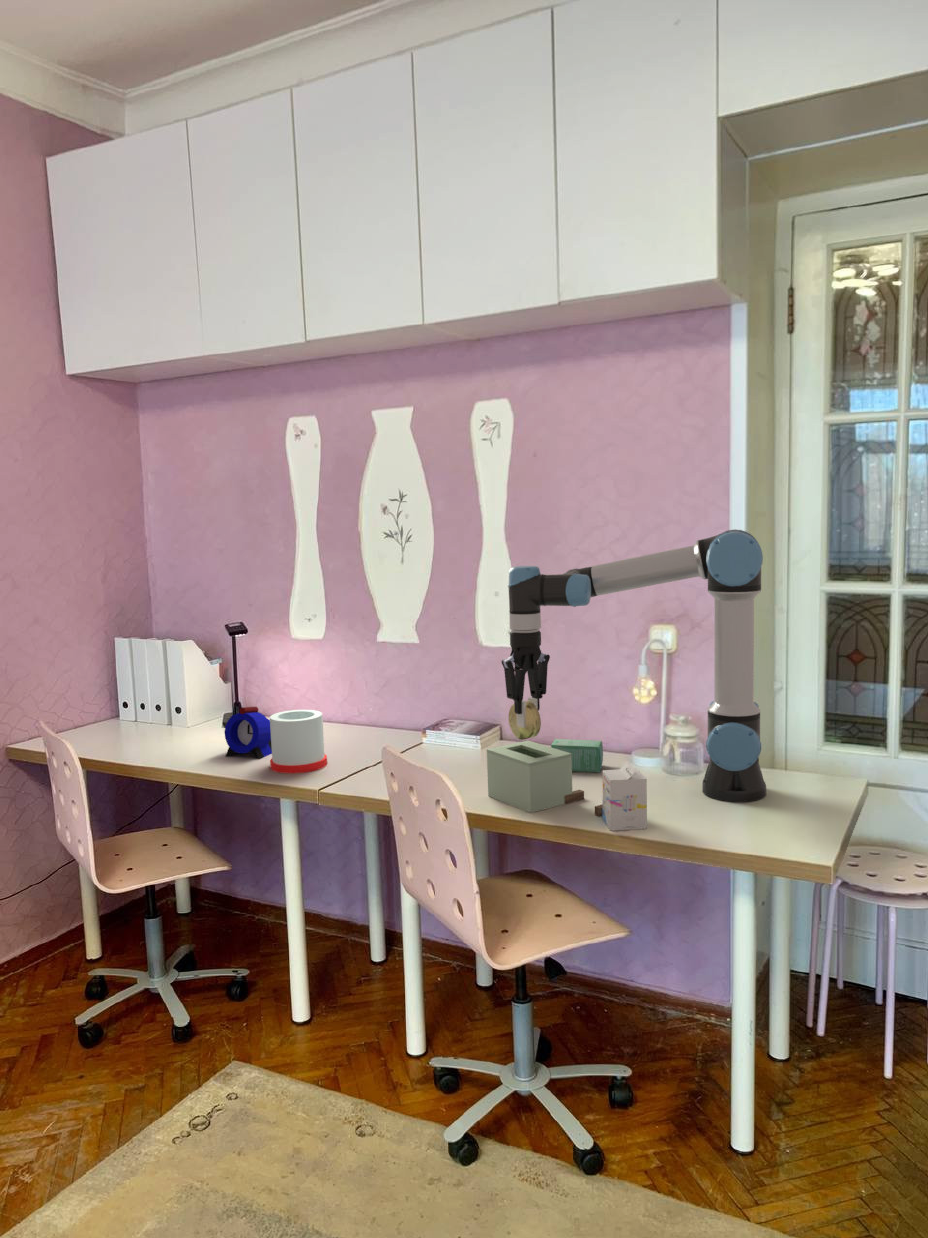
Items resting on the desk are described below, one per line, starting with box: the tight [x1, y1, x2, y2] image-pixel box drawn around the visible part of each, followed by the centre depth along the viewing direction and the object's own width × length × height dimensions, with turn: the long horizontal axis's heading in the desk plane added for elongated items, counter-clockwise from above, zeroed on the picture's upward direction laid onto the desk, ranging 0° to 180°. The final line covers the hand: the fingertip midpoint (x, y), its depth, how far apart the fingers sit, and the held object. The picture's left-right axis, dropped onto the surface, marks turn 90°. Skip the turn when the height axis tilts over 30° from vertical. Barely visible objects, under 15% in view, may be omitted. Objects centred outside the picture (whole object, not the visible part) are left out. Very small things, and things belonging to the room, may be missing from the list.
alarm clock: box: [224, 706, 272, 760], centre depth 286 cm, size 12×12×15 cm
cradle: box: [564, 789, 603, 818], centre depth 227 cm, size 14×6×2 cm, turn 35°
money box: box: [486, 739, 573, 814], centre depth 234 cm, size 17×13×12 cm
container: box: [269, 709, 328, 774], centre depth 271 cm, size 16×16×15 cm
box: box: [550, 738, 604, 773], centre depth 259 cm, size 7×14×8 cm, turn 77°
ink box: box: [602, 761, 648, 832], centre depth 214 cm, size 9×8×13 cm
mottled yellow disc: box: [508, 700, 542, 741], centre depth 233 cm, size 3×9×9 cm, turn 35°
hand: (527, 725), depth 232 cm, fingers closed on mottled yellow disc, 3 cm apart
